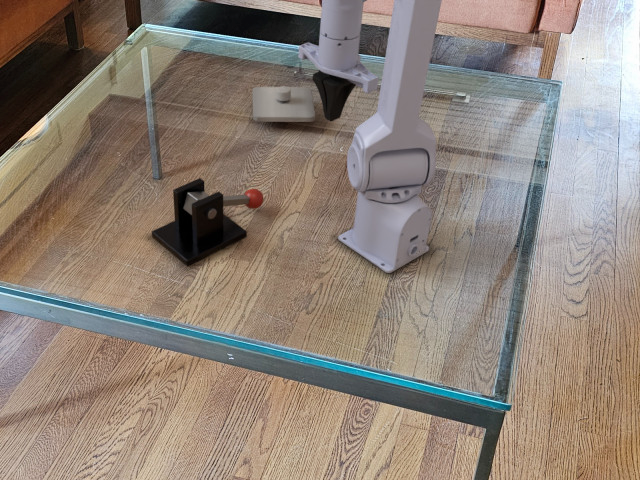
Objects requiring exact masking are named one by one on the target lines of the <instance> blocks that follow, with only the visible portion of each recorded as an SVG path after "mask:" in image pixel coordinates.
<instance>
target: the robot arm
mask: <svg viewBox="0 0 640 480" xmlns="http://www.w3.org/2000/svg"><path fill="white" fill-rule="evenodd" d="M367 1H368V0H321V9H320V11H321V12H320V24H319V37H318V39H319V40H318V45H317V44H314V43H311V42H305V43H302V44H301V45H298V55H297V57H298V59H300V60H307V61H310V63H312V64H313V65H314V66H315V67H316V69H317V70H318V71H316V72H314V73H313V74H312V81H313V83H314V85H315V87H316V89H317V91H318V94H319V97H320V101H321V105H322V110H323V116H324V119H326V120H328V121H329V122H333V121H337V120H338V119H340V118H341V116H342V113H343V111H344V108H345V105H346V103H347V101H348V99H349V98H350V97H349V96H350V95H351V94H352V92H353V90H354V89H355V87H356V86H358V87H360V88H362V92H363V93H366V94H370V93H372V92H375V91H377V90H378V85H379V76H377V75H375V74H374V73H372V72H371V71H370V70H369V69H368V68H367V67H366V66H365V65H364V64H363V63H362V62H361V57H362V56H361V55H360V54H359V53H360V41H361V32H362V23H363V13H364V3H365V2H367ZM442 1H443V0H393V7H392V12H391V18H390V25H389V31H388V37H387V43H386V50H385V57H384V63H383V71H382V77H381V83H380V88H379V89H380V90H379V95H378V102H377V108H376V112H375V113H374V114H373V115H372V116H370V117H369V118H367V119H366V120H365V121H363V122H362V123H360V125H358V126H357V127H356V128H355V129H354V133H353V138H352V142H351V144H350V146H349V148H348V149H347V150H348V151H347V156H346V167H347V168H346V169H347V176H348V179H349V183H350V185H351V186H352V188H353V189H355V191H356V192H357V196H356V204H355V212H354V218H353V219H354V220H353V227H352V228H350V229H349V230H347V231H344V232H343V233H341V234H339V235H338V241H340V242H341V243H342V244H344V245H345V246H347V247H348V248H350V249H351V250H353V251H354V252H356V253H357V254H359V255H360V256H362V257H363V258H364V259H366V260H367V261H369V262H370V263H372V264H373V265H374V266H376V267H377V268H379V269H380V270H382V271H383V272H385V273H387V274H391V273H393V272H395V271H397V270H398V269H400V268H402V267H404V266H405V265H407V264H408V263H410V262H412V261H414V260H416V259H418V258H419V257H421V256H422V255H424V254H426V253H427V252H429V250H430V246H428V245H427V243H428V239H429V234H430V229H431V224H432V218H433V211H432V209H431V208H430V207H429V205H428V204H426V203H425V202H424V201H423V200H422V198H421V197H420V195H419V194H421V193H422V187H423V186H427V185H429V184H430V183H431V181H432V179H433V178H434V176H435V173H436V166H437V157H436V150H437V144H438V143H437V137H436V135H435V132H434V130H433V128H432V127H431V125H430V124H428V122H427V121H425V120H424V119H422V118H421V117H420V112H421V108H422V104H423V98H424V92H425V88H426V83H427V78H428V77H427V76H428V72H429V67H430V61H431V57H432V52H433V47H434V41H435V37H436V31H437V27H438V22H439V21H438V20H439V16H440V11H441V7H442ZM419 251H421V252H419ZM418 252H419V253H418ZM416 253H417V254H416Z"/></svg>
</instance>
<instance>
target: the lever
mask: <svg viewBox="0 0 640 480" xmlns="http://www.w3.org/2000/svg"><path fill="white" fill-rule="evenodd" d="M208 196H210V194H209V193H206V191H205V192H204V191H200V192H188V193H187V196H186V200H185V204H184V208H183V209H184V210H186V211H187V212H188V213H190V214H191V215H192V203H194V202H197V201H199V200H201V199H203V198H205V197H208ZM263 204H264V194H263V192H262V191H261V190H259V189H258V188H249V189H248V190H246V191H245V192H244V194H235V195H223V208H224V207H233V206H245V207H247V208H248V209H251V210H257V209H258V208H260V207H262V205H263Z"/></svg>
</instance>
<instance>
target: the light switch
mask: <svg viewBox="0 0 640 480" xmlns="http://www.w3.org/2000/svg"><path fill="white" fill-rule="evenodd" d="M251 92H252V93H251V96H252V120H253V121H254V122H269V123H270V122H272V123H273V122H275V123H278V122H279V123H281V122H282V123H283V122H285V123H299V122H300V123H303V122H304V123H312V122H314V121H316V112H315V111H316V110H315V104H314V96H313V89H312V88H310V87H307V86H286V85H281V86H254V87H253V88H252V91H251Z"/></svg>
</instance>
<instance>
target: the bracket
mask: <svg viewBox="0 0 640 480" xmlns="http://www.w3.org/2000/svg"><path fill="white" fill-rule="evenodd" d="M200 191H204V192H205V193H206V190H205V181H204V180H203V178H200V177H199V178H197V179H194V180H192V181H190V182H188V183H186V184H183V185H180V186H179V187H176V188H174V189H172V195H173V197H172V198H173V213H174V220H173V221H171V222H169V223H167V224H164V225H162V226H160V227H158V228H156V229H153V230H152V231H151V237H152V239H154V240H155V241H156V242H158V243H159V244H160V245H161V246H162V247H163V248H165V249H166V250H167V252H169V253H170V254H172V255H173V256H174V257H175V258H177V260H179V261H180V262H181V263H183V264H184V265H185V266H186V267H189V266H191V265H193V264H195V263H197V262H199V261H201V260H203V259H205V258H208V257H209V256H211V255H213V254H215V253H218V252H219V251H221V250H223V249H226V248H227V247H230V246H232V245H234V244H235V243H237V242H239V241H241V240H243V239H246V238H247V237H248V231H247V230H246V229H244V228H243V226H241V225H239V224H238V223H237V222H235V221H234V220H233V219H231V218H229V216H227V215H226V214H224V207H223V196H224V194H222V192H220V191H216V192H215V193H212V194H209V196H208V197H205V198H203V199H201V200H199V201H197V202H194V203H192V215H191V214H190V213H188V212H187V211H186V210H184V209H183V208H184V204H185V200H186V196H187V193H188V192H200Z"/></svg>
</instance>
